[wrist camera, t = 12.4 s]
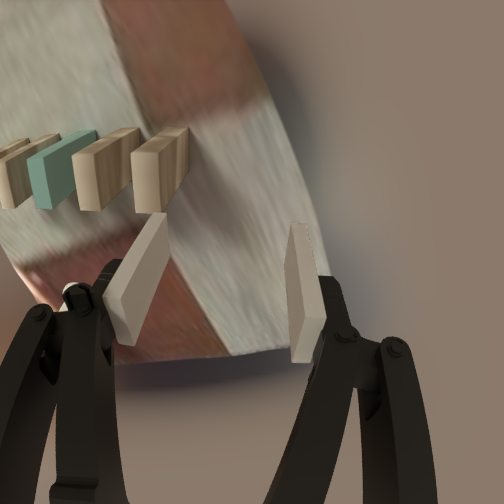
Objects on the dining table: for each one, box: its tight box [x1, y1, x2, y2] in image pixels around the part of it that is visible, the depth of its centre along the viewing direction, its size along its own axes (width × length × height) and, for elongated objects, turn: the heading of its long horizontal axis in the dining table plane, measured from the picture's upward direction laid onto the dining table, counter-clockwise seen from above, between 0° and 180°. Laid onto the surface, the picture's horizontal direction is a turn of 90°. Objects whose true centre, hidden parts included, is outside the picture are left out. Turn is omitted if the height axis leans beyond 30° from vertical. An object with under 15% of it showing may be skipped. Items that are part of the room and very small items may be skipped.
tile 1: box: [131, 127, 189, 214], centre depth 26 cm, size 2×5×10 cm, turn 176°
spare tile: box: [26, 130, 96, 209], centre depth 26 cm, size 2×5×10 cm, turn 176°
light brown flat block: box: [0, 138, 29, 159], centre depth 25 cm, size 2×5×10 cm, turn 176°
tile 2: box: [72, 127, 140, 211], centre depth 26 cm, size 2×5×10 cm, turn 175°
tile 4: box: [0, 134, 60, 209], centre depth 25 cm, size 2×5×10 cm, turn 175°
